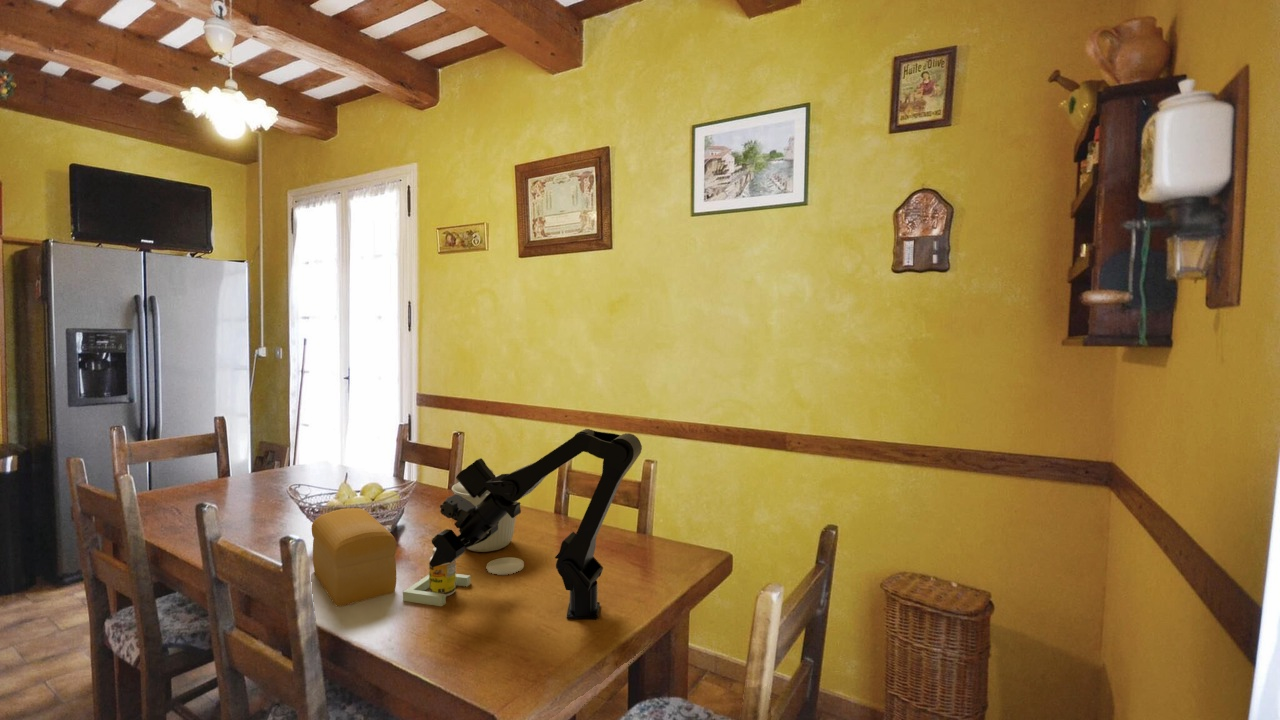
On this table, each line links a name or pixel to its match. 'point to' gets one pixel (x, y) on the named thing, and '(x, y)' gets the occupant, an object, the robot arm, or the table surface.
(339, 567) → the bread
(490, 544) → the canister
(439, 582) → the supplement bottle
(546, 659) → the table surface
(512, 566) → the coaster
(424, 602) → the pale green u-shaped bracket
